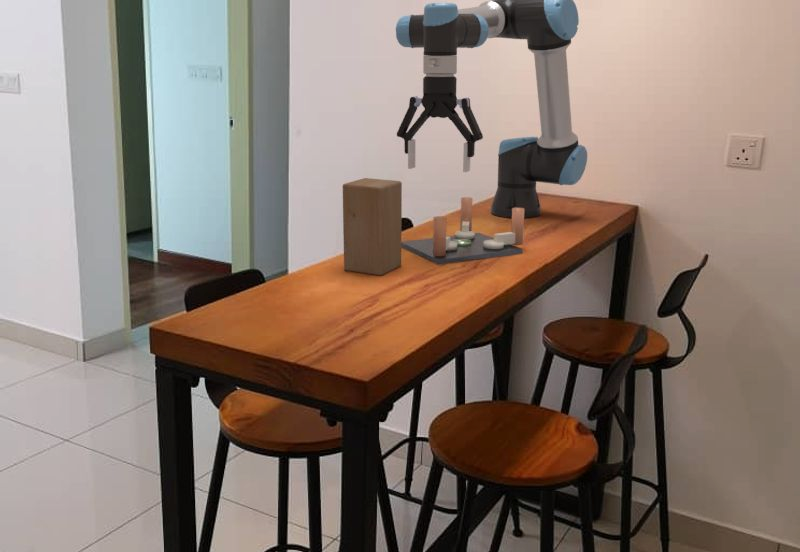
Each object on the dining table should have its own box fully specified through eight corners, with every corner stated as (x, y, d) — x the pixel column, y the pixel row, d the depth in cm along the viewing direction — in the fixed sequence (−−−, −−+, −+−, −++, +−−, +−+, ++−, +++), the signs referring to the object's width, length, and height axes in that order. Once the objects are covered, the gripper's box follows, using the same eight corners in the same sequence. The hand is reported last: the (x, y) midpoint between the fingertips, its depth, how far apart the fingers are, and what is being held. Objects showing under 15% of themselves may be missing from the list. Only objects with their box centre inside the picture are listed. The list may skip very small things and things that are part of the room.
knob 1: (439, 244, 200) (440, 209, 198) (459, 246, 199) (460, 210, 196) (427, 255, 190) (428, 218, 188) (447, 256, 189) (448, 219, 186)
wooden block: (343, 270, 182) (341, 183, 177) (365, 260, 191) (364, 177, 185) (381, 276, 178) (381, 187, 172) (402, 265, 187) (402, 180, 181)
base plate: (479, 236, 215) (479, 228, 214) (522, 253, 198) (522, 244, 197) (399, 246, 205) (399, 237, 204) (438, 264, 188) (438, 255, 187)
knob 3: (490, 249, 195) (491, 213, 193) (479, 245, 199) (480, 210, 197) (527, 245, 200) (529, 209, 197) (516, 241, 204) (517, 206, 202)
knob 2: (474, 239, 206) (475, 205, 203) (454, 239, 206) (455, 204, 204) (475, 230, 216) (476, 197, 214) (456, 229, 217) (457, 197, 214)
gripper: (382, 75, 181) (383, 168, 187) (488, 76, 171) (485, 175, 177) (395, 74, 187) (396, 164, 193) (498, 75, 178) (495, 170, 184)
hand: (438, 169), depth 185 cm, fingers open, 13 cm apart
